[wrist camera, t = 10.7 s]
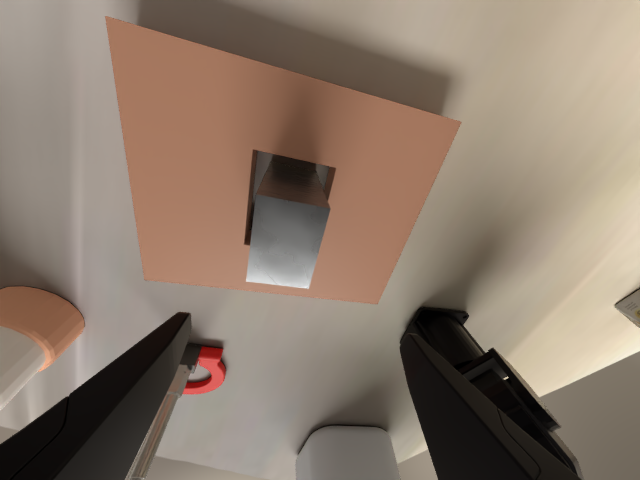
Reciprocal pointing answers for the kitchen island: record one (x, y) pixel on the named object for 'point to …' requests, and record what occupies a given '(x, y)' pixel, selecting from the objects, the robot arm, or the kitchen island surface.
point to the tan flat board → (240, 163)
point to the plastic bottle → (347, 455)
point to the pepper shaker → (32, 335)
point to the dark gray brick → (287, 227)
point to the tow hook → (178, 387)
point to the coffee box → (631, 307)
